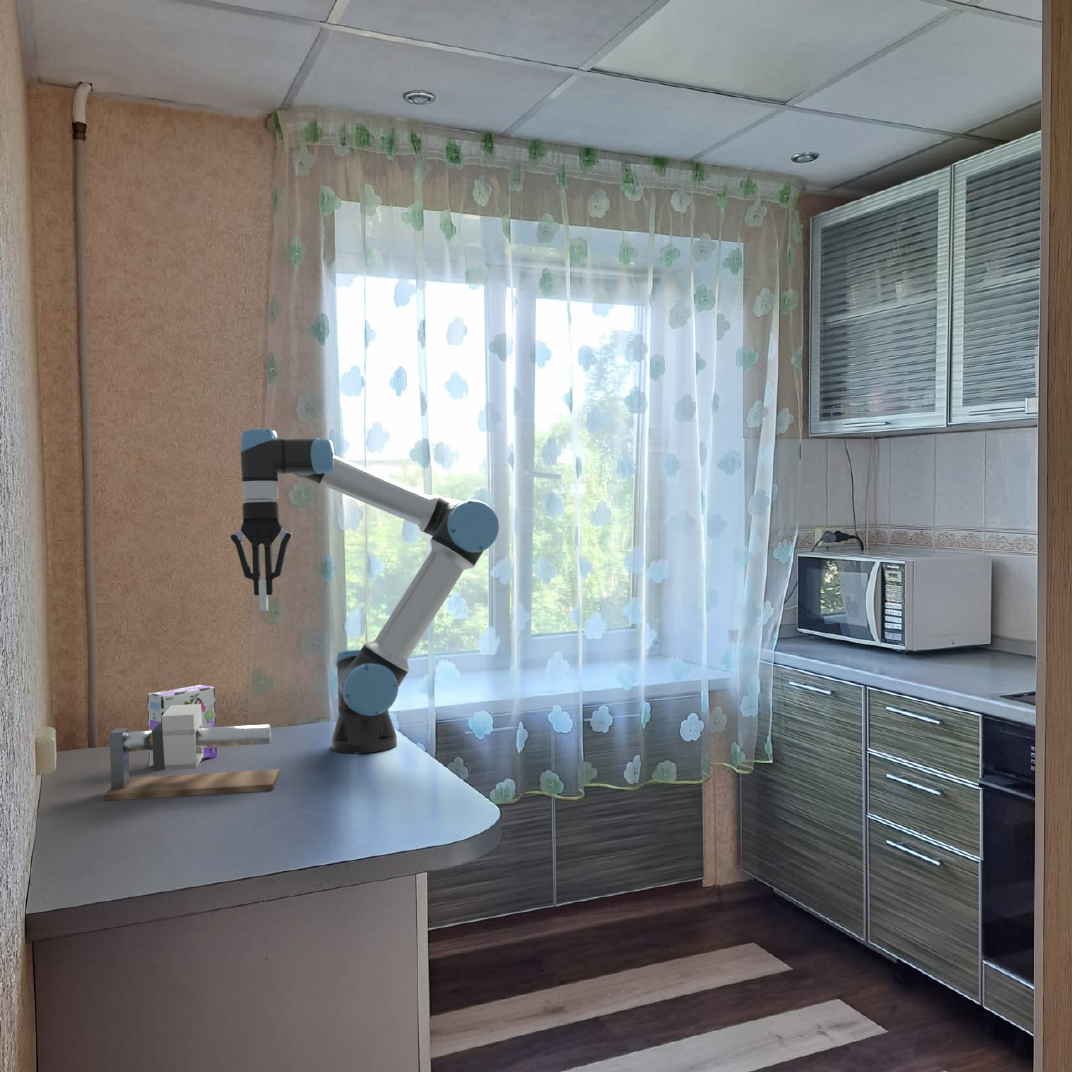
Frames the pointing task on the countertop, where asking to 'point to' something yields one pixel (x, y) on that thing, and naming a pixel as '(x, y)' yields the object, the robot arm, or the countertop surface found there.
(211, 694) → the candy box
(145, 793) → the board
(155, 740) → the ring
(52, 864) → the countertop surface
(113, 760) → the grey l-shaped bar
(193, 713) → the sleeve
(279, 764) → the countertop surface
